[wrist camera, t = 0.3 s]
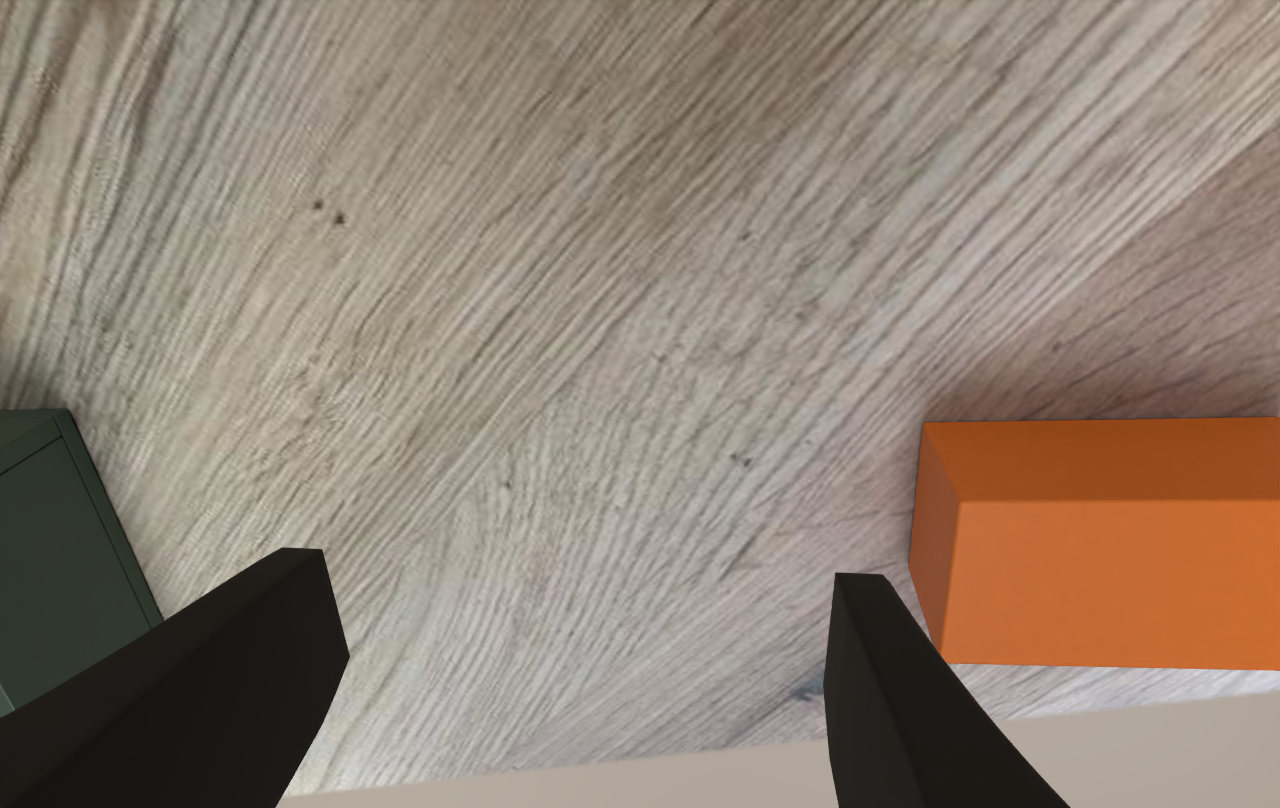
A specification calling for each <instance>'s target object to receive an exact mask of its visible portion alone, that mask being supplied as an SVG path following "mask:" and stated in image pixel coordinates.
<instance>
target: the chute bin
mask: <svg viewBox="0 0 1280 808" xmlns="http://www.w3.org/2000/svg"><path fill="white" fill-rule="evenodd" d="M162 622H163V620H162V618H161V616H160V614H159V612H158V609H157V607H156V605H155V603H154V600H153V598H152V596H151V594H150V591H149V589H148V587H147V585H146V583H145V580H144V578H143V576H142V574H141V571H140V569H139V567H138V565H137V563H136V560H135V558H134V556H133V554H132V551H131V549H130V547H129V545H128V542H127V540H126V538H125V536H124V534H123V531H122V529H121V527H120V525H119V522H118V520H117V518H116V516H115V514H114V511H113V509H112V507H111V505H110V502H109V500H108V498H107V496H106V494H105V491H104V489H103V487H102V485H101V482H100V480H99V478H98V476H97V473H96V471H95V469H94V467H93V465H92V462H91V460H90V458H89V456H88V453H87V451H86V449H85V447H84V445H83V442H82V440H81V438H80V436H79V433H78V431H77V429H76V427H75V424H74V422H73V420H72V418H71V416H70V413H69V411H68V410H67V409H36V410H0V718H1V717H3V716H5V715H7V714H9V713H11V712H12V711H14V710H16V709H18V708H20V707H22V706H23V705H25V704H27V703H29V702H31V701H32V700H34V699H36V698H38V697H40V696H41V695H43V694H45V693H47V692H48V691H50V690H52V689H54V688H55V687H57V686H59V685H60V684H62V683H64V682H65V681H67V680H69V679H70V678H72V677H74V676H75V675H77V674H79V673H80V672H82V671H84V670H85V669H87V668H89V667H90V666H92V665H94V664H95V663H97V662H99V661H100V660H102V659H104V658H105V657H107V656H109V655H110V654H112V653H114V652H115V651H117V650H119V649H120V648H122V647H124V646H125V645H127V644H129V643H130V642H132V641H134V640H135V639H137V638H138V637H140V636H142V635H143V634H145V633H146V632H148V631H149V630H151V629H153V628H154V627H156V626H157V625H159V624H160V623H162Z"/></svg>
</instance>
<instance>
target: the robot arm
mask: <svg viewBox="0 0 1280 808" xmlns="http://www.w3.org/2000/svg"><path fill="white" fill-rule="evenodd" d="M349 658H350V655H349V651H348V647H347V643H346V640H345V636H344V632H343V628H342V624H341V620H340V616H339V612H338V609H337V605H336V601H335V597H334V593H333V589H332V585H331V581H330V578H329V574H328V570H327V566H326V562H325V558H324V554H323V550H322V549H305V548H283V547H282V548H280V549H279V550H277V551H275V552H273V553H271V554H270V555H268V556H266V557H264V558H263V559H261V560H259V561H258V562H256V563H254V564H253V565H251V566H249V567H248V568H246V569H245V570H243V571H241V572H240V573H238V574H237V575H235V576H234V577H232V578H230V579H229V580H227V581H226V582H224V583H223V584H221V585H220V586H218V587H216V588H215V589H213V590H212V591H210V592H209V593H207V594H206V595H204V596H202V597H201V598H199V599H198V600H196V601H195V602H193V603H192V604H190V605H188V606H187V607H185V608H184V609H182V610H181V611H179V612H178V613H176V614H174V615H173V616H171V617H170V618H168V619H167V620H165V621H163V622H162V623H160V624H159V625H157V626H156V627H154V628H153V629H151V630H149V631H148V632H146V633H145V634H143V635H142V636H140V637H138V638H137V639H135V640H134V641H132V642H130V643H129V644H127V645H125V646H124V647H122V648H120V649H119V650H117V651H115V652H114V653H112V654H110V655H109V656H107V657H105V658H104V659H102V660H100V661H99V662H97V663H95V664H94V665H92V666H90V667H89V668H87V669H85V670H84V671H82V672H80V673H79V674H77V675H75V676H74V677H72V678H70V679H69V680H67V681H65V682H64V683H62V684H60V685H59V686H57V687H55V688H54V689H52V690H50V691H48V692H47V693H45V694H43V695H41V696H40V697H38V698H36V699H34V700H32V701H31V702H29V703H27V704H25V705H23V706H22V707H20V708H18V709H16V710H14V711H12V712H11V713H9V714H7V715H5V716H3V717H1V718H0V808H275V807H276V806H277V804H278V802H279V800H280V799H281V797H282V795H283V794H284V792H285V790H286V788H287V787H288V785H289V783H290V781H291V780H292V778H293V776H294V774H295V772H296V771H297V769H298V767H299V765H300V764H301V762H302V760H303V758H304V756H305V755H306V753H307V751H308V749H309V748H310V746H311V744H312V742H313V740H314V739H315V737H316V735H317V733H318V731H319V729H320V728H321V726H322V724H323V722H324V719H325V717H326V715H327V712H328V710H329V708H330V705H331V703H332V701H333V698H334V696H335V694H336V691H337V689H338V686H339V684H340V681H341V679H342V676H343V673H344V671H345V668H346V666H347V663H348V661H349ZM823 688H824V700H825V713H826V725H827V736H828V746H829V757H830V763H831V768H832V774H833V779H834V784H835V789H836V794H837V800H838V805H839V808H1070V807H1069V806H1068V805H1067V804H1066V802H1065V801H1064V800H1063V799H1062V798H1061V797H1060V796H1059V795H1058V794H1057V793H1056V792H1055V791H1054V790H1053V789H1052V788H1051V787H1050V786H1049V784H1048V783H1047V782H1046V781H1045V780H1044V779H1043V778H1042V777H1041V776H1040V775H1039V774H1038V773H1037V771H1036V770H1035V769H1034V768H1033V767H1032V766H1031V765H1030V764H1029V763H1028V761H1027V760H1026V759H1025V758H1024V757H1023V756H1022V755H1021V753H1020V752H1019V751H1018V750H1017V749H1016V748H1015V747H1014V745H1013V744H1012V743H1011V742H1010V741H1009V740H1008V739H1007V737H1006V736H1005V735H1004V734H1003V733H1002V732H1001V731H1000V729H999V728H998V727H997V726H996V724H995V723H994V722H993V721H992V720H991V718H990V717H989V716H988V715H987V714H986V712H985V711H984V710H983V709H982V708H981V706H980V705H979V704H978V703H977V701H976V700H975V699H974V697H973V696H972V695H971V694H970V692H969V691H968V690H967V689H966V687H965V686H964V685H963V684H962V682H961V681H960V680H959V678H958V677H957V676H956V675H955V673H954V672H953V671H952V670H951V668H950V667H949V666H948V664H947V663H946V662H945V660H944V659H943V658H942V656H941V655H940V654H939V652H938V651H937V650H936V648H935V647H934V646H933V644H932V643H931V641H930V640H929V639H928V637H927V636H926V634H925V633H924V632H923V630H922V629H921V627H920V626H919V625H918V623H917V622H916V620H915V619H914V617H913V616H912V615H911V613H910V612H909V610H908V609H907V607H906V606H905V604H904V603H903V601H902V600H901V598H900V597H899V595H898V594H897V592H896V591H895V589H894V588H893V586H892V585H891V583H890V582H889V581H888V580H887V579H886V578H885V577H884V576H883V575H881V574H859V573H837V572H836V573H835V582H834V591H833V600H832V609H831V619H830V628H829V637H828V646H827V655H826V665H825V674H824V683H823Z"/></svg>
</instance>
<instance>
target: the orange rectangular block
mask: <svg viewBox="0 0 1280 808" xmlns="http://www.w3.org/2000/svg"><path fill="white" fill-rule="evenodd" d="M908 568H909V571H910V574H911V577H912V581H913V584H914V587H915V590H916V593H917V596H918V599H919V602H920V605H921V609H922V612H923V615H924V618H925V621H926V624H927V627H928V630H929V634H930V637H931V640H932V643H933V646H934V647H935V648H936V650H937V651H938V652H939V654H940V655H941V656H942V658H943V659H944V660H945V662H946V663H955V664H1001V665H1047V666H1092V667H1138V668H1184V669H1230V670H1276V671H1280V418H1279V417H1243V418H1180V419H1116V420H1053V421H990V422H927V423H923V426H922V436H921V446H920V456H919V466H918V476H917V486H916V496H915V506H914V516H913V526H912V536H911V546H910V557H909V567H908Z"/></svg>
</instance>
